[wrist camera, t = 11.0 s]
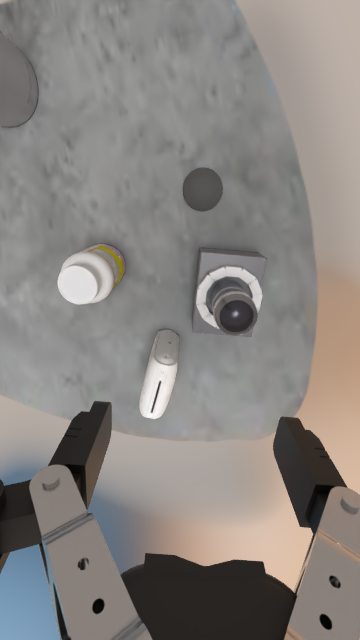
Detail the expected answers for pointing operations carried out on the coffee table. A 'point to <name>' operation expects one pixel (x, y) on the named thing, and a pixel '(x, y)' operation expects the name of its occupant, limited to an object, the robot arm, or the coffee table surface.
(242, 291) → the lens
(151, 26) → the coffee table surface
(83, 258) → the supplement bottle
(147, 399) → the photo printer
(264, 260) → the camera body
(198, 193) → the lens cap
